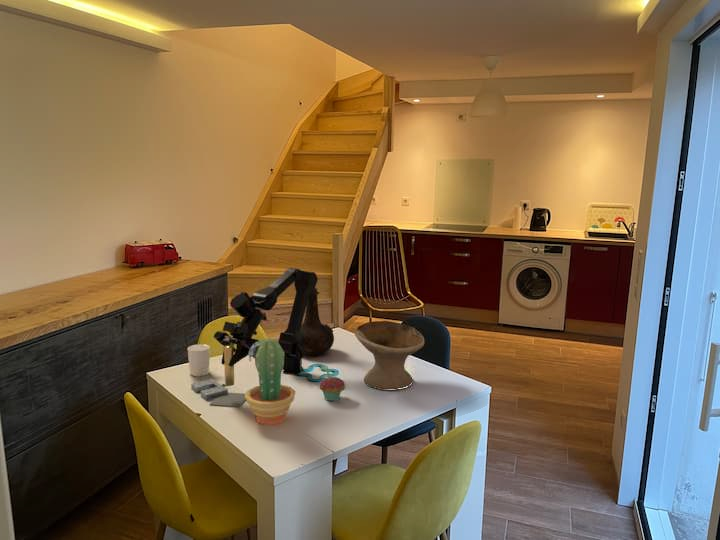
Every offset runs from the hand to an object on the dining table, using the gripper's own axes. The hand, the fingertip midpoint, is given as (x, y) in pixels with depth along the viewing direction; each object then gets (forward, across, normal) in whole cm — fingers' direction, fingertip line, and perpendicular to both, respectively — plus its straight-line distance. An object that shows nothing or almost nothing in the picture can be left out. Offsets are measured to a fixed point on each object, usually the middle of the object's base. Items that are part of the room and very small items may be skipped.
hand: (226, 364), depth 171 cm
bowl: (-23, +36, +41) cm, 59 cm away
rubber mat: (+8, 0, +10) cm, 13 cm away
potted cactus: (+10, +20, +8) cm, 24 cm away
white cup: (0, -27, +18) cm, 33 cm away
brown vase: (-31, -7, +49) cm, 58 cm away
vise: (+6, -10, +11) cm, 17 cm away
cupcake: (-6, +27, +24) cm, 37 cm away
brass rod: (+4, 0, +6) cm, 7 cm away
